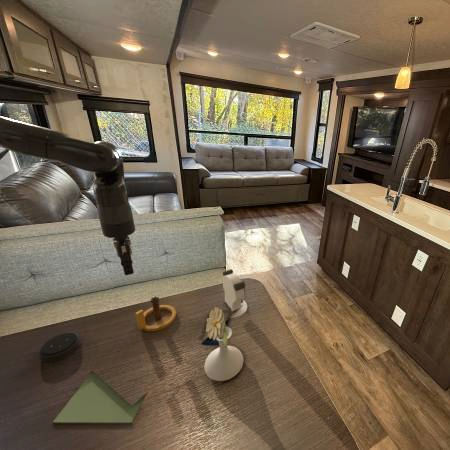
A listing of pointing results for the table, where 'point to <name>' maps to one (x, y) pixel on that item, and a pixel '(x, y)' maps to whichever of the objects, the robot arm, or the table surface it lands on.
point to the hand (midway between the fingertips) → (127, 266)
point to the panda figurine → (234, 293)
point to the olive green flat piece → (98, 404)
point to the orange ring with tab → (141, 316)
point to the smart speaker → (59, 347)
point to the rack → (158, 312)
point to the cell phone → (211, 341)
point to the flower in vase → (221, 350)
